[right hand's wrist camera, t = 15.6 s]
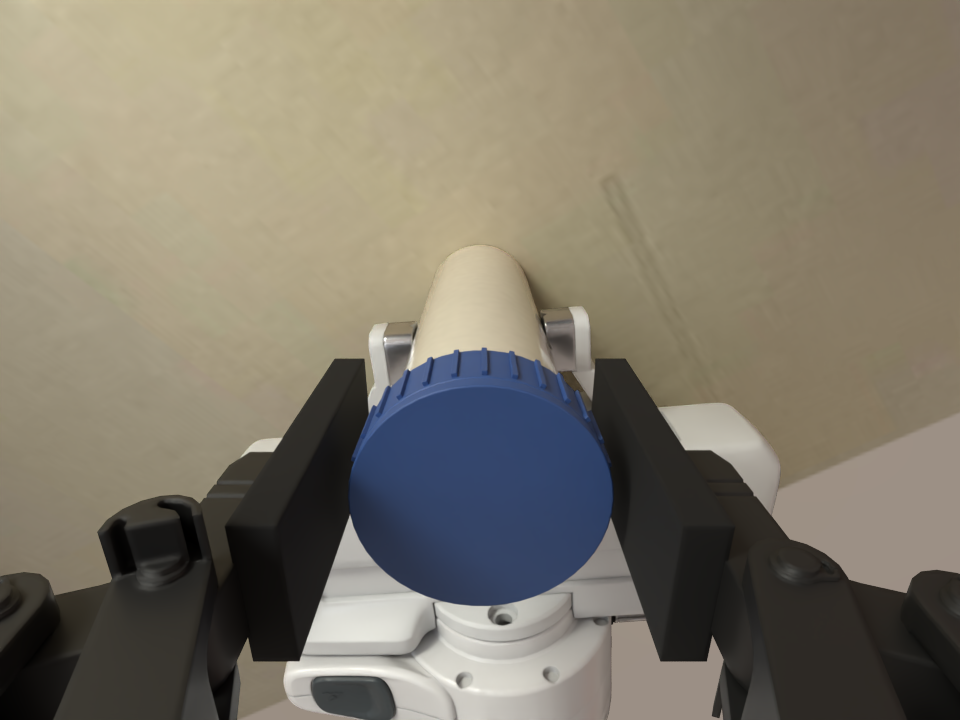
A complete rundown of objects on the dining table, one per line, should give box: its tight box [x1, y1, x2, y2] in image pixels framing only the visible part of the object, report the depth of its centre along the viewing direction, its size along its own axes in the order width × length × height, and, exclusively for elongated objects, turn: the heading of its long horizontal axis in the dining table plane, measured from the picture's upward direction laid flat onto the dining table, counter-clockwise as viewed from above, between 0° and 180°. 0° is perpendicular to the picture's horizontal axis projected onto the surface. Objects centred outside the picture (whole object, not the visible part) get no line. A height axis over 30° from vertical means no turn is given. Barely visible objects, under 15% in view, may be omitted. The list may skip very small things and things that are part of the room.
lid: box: [348, 347, 614, 606], centre depth 11 cm, size 5×5×2 cm
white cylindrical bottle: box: [402, 245, 558, 376], centre depth 18 cm, size 4×4×15 cm
